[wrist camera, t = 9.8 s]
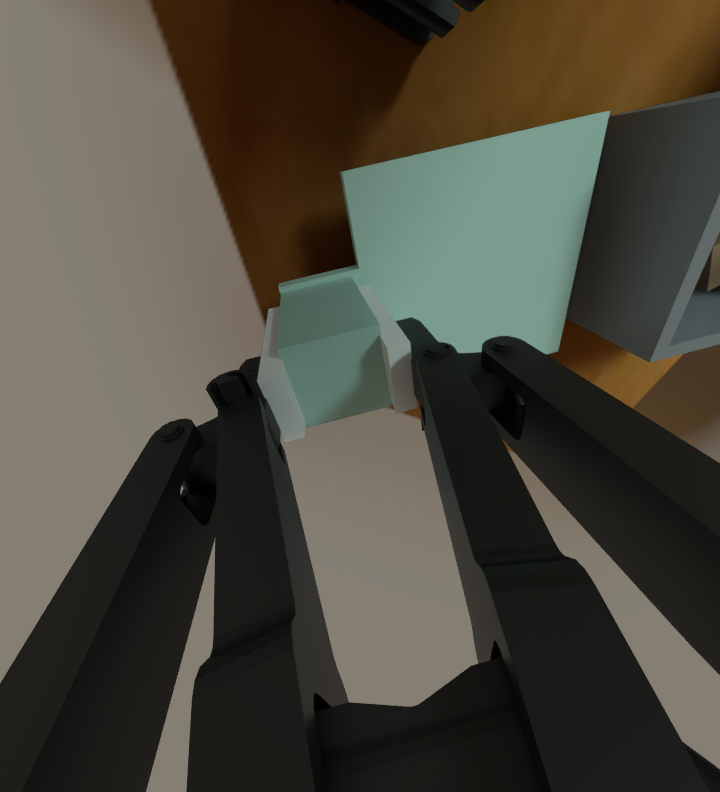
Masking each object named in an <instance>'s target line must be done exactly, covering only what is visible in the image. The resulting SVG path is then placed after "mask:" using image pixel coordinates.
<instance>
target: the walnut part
mask: <svg viewBox="0 0 720 792" xmlns="http://www.w3.org/2000/svg"><path fill="white" fill-rule="evenodd" d="M719 285H720V232H719V234H718V236H717V238H716V241H715V243H714V245H713V248H712V250H711V252H710V254H709V257H708V259H707V261H706V263H705V266H704V268H703V270H702V272H701V275H700V277H699V279H698V281H697V284H696V286H695V288H696V289H699V290H703V291H706V292H708V291H710V290H712V289H713V288H715V287H717V286H719Z"/></svg>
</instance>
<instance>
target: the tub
mask: <svg viewBox="0 0 720 792" xmlns="http://www.w3.org/2000/svg"><path fill="white" fill-rule="evenodd" d="M719 232H720V90H719V91H715V92H711V93H706V94H702V95H698V96H694V97H689V98H685V99H681V100H676V101H672V102H668V103H664V104H659V105H655V106H651V107H647V108H642V109H638V110H634V111H630V112H625V113H621V114H617V115H612V116H609V118H608V123H607V128H606V132H605V137H604V142H603V146H602V151H601V156H600V160H599V165H598V170H597V174H596V179H595V183H594V188H593V193H592V197H591V202H590V207H589V211H588V216H587V221H586V225H585V230H584V235H583V239H582V244H581V249H580V253H579V258H578V262H577V267H576V272H575V276H574V281H573V286H572V290H571V295H570V300H569V304H568V309H567V314H566V319H568V320H570V321H572V322H574V323H576V324H578V325H579V326H581V327H583V328H585V329H587V330H589V331H591V332H593V333H595V334H597V335H598V336H600V337H602V338H604V339H606V340H608V341H610V342H612V343H614V344H615V345H617V346H619V347H621V348H623V349H625V350H627V351H629V352H631V353H633V354H634V355H636V356H638V357H640V358H642V359H644V360H646V361H648V362H653V361H657V360H661V359H665V358H669V357H672V356H676V355H680V354H684V353H687V352H691V351H695V350H699V349H703V348H706V347H710V346H714V345H718V344H720V285H719V286H717V287H715V288H713V289H712V290H710V291H708V292H706V291H703V290H699V289H696V288H695V286H696V284H697V281H698V279H699V277H700V275H701V272H702V270H703V268H704V266H705V263H706V261H707V259H708V257H709V254H710V252H711V250H712V248H713V245H714V243H715V241H716V238H717V236H718V234H719Z"/></svg>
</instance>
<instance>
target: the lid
mask: <svg viewBox="0 0 720 792" xmlns="http://www.w3.org/2000/svg"><path fill="white" fill-rule="evenodd" d="M609 114H610V111H606V112H601V113H596V114H591V115H587V116H583V117H578V118H574V119H570V120H565V121H561V122H556V123H552V124H548V125H543V126H539V127H534V128H530V129H526V130H521V131H517V132H513V133H508V134H504V135H499V136H495V137H491V138H486V139H482V140H477V141H473V142H469V143H464V144H460V145H456V146H451V147H447V148H442V149H438V150H434V151H429V152H425V153H420V154H416V155H412V156H407V157H403V158H399V159H394V160H390V161H385V162H381V163H377V164H372V165H368V166H363V167H359V168H355V169H350V170H346V171H342V172H340V177H341V182H342V188H343V194H344V199H345V205H346V210H347V216H348V221H349V227H350V232H351V238H352V243H353V249H354V255H355V260H356V265H353V266H349V267H345V268H341V269H336V270H332V271H328V272H324V273H320V274H316V275H311V276H307V277H303V278H299V279H295V280H291V281H286V282H282V283H279V287H278V288H279V291H280V294H281V301H280V314H279V327H278V339H277V352H278V355H279V357H280V360H281V359H282V362H283V364H284V367H285V369H286V372H287V375H288V377H289V380H290V383H291V385H292V388H293V390H294V393H295V396H296V398H297V401H298V403H299V406H300V409H301V411H302V414H303V416H304V419H305V426H306V428H307V427H311V426H315V425H319V424H323V423H327V422H331V421H334V420H338V419H342V418H346V417H350V416H354V415H357V414H361V413H365V412H369V411H373V410H377V409H381V408H385V407H389V406H392V401H391V399H390V395H389V389H388V383H387V377H386V371H385V365H384V358H383V352H382V346H381V340H380V334H381V329H380V324H379V322H378V321H377V319H376V317H375V316H374V314H373V312H372V310H371V309H370V307H369V305H368V304H367V302H366V300H365V299H364V297H363V295H362V294H361V292H360V290H359V288H358V287H359V286H363V285H367V284H370V286H371V287H372V289H373V290H374V292H375V293H376V294H377V296H378V297H379V299H380V300H381V301H382V303H383V304H384V306H385V307H386V309H387V310H388V311H389V313H390V314H391V316H392V317H393V319H394V320H395V321H398V320H402V319H406V318H410V317H412V318H414V319H417V320H419V321H421V323H422V324H423V325H424V326H425V327H426V328H427V329H428V331H429V332H430V333H431V334H432V335H433V336H434V337H435V339H436V340H437V341H438V342H444V343H448V344H451V345H452V346H453V347H454V348H455V349H456V350H457V352H458V353H475V352H482V344H483V343H484V342H485V341H486V340H488V339H490V338H493V337H498V336H510V337H516V338H519V339H521V340H523V341H525V342H527V343H528V344H530V345H531V346H533V347H535V348H536V349H538V350H539V351H541V352H543V353H544V354H550V353H554V352H558V351H559V346H560V341H561V337H562V332H563V327H564V323H565V318H566V314H567V309H568V304H569V300H570V295H571V290H572V286H573V281H574V276H575V272H576V267H577V262H578V258H579V253H580V249H581V244H582V239H583V235H584V230H585V225H586V221H587V216H588V211H589V207H590V202H591V197H592V193H593V188H594V183H595V179H596V174H597V170H598V165H599V160H600V156H601V151H602V146H603V142H604V137H605V132H606V128H607V123H608V118H609Z"/></svg>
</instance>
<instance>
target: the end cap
mask: <svg viewBox="0 0 720 792" xmlns="http://www.w3.org/2000/svg"><path fill="white" fill-rule="evenodd" d="M330 1H332V2H333V3H335V4H336V5H338V6H339V3H340V0H330ZM345 1H347V2H348V3H350V4H352V5H353V6H355V7H356V8H358V9H360V10H361V11H363V12H364V13H366V14H368V15H369V16H371V17H372V18H374V19H376V20H377V21H379V22H381V23H382V24H384V25H385V26H387V27H389V28H390V29H392V30H393V31H395V32H397V33H398V34H400V35H401V36H403V37H405V38H406V39H408V40H410V41H411V42H413V43H414V44H418V45H424V44H425V43H427V42H429V41H430V40H431V39H432V38H433V36H434V34H436V35H438V36H439V37H441V38H442V37H444V36H445V35H446V34H447V33H448V32H449V31H450V30H452V29H453V28H454V27H455V25H456V22H457V19H458V16H459V13H460V11H459V10H458V9H457V8H455V7H454V6H452V5H453V2H455V3H456V4H458V5H459V6H461V7H462V8H464V9H465V10H466V11H468V12H469V11H470V12H472V11H473V10H474V9H475V8H476V7H477V6H479V5H480V4H481V3H482V2H483V1H484V0H345Z"/></svg>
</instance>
